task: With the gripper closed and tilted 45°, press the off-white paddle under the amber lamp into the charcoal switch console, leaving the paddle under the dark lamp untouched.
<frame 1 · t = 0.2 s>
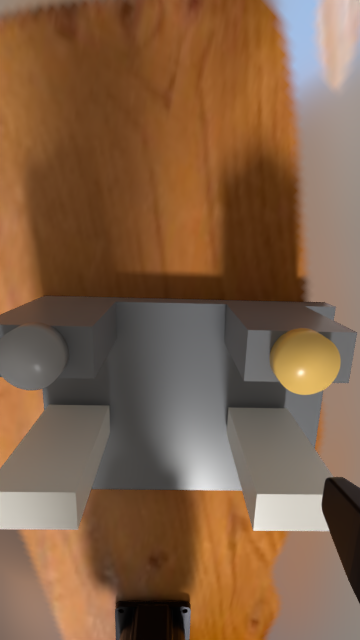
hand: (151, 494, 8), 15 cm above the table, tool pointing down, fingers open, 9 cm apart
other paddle: (60, 455, 18), point 6 cm above the table, slide at 0.0 cm
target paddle: (273, 457, 18), point 6 cm above the table, slide at 0.0 cm
console: (183, 393, 23), on the table
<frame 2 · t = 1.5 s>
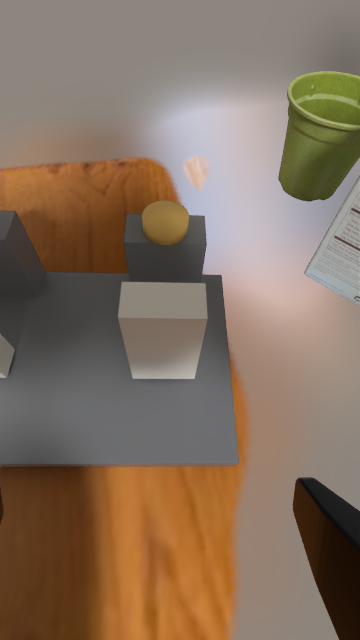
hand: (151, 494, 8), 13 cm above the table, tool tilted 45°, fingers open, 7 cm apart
plant pot: (304, 186, 35), on the table
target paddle: (163, 337, 18), point 6 cm above the table, slide at 0.0 cm
supplement box: (354, 272, 29), on the table
console: (95, 361, 23), on the table
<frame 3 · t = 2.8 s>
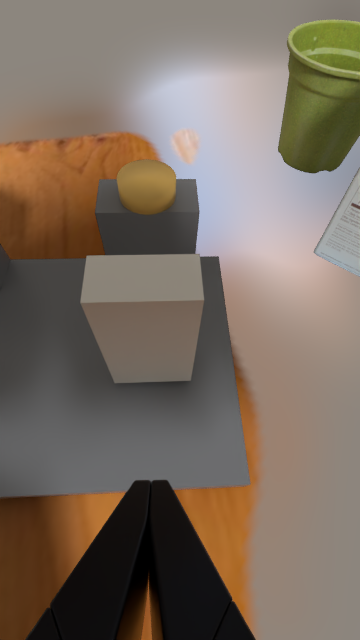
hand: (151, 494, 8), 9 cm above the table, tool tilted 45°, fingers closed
plant pot: (308, 157, 31), on the table
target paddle: (149, 330, 14), point 6 cm above the table, slide at 0.0 cm
console: (71, 363, 19), on the table
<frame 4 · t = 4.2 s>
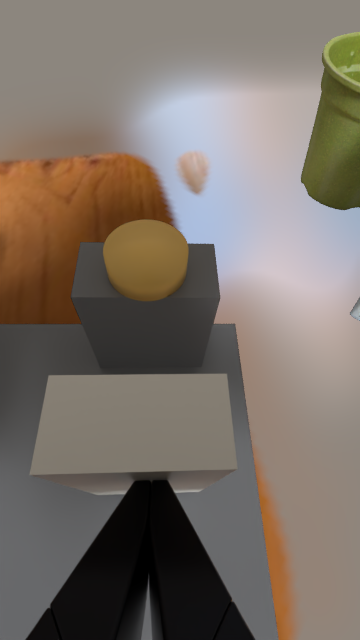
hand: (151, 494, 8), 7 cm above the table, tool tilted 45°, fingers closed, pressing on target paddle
plant pot: (335, 189, 27), on the table
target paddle: (145, 450, 10), point 6 cm above the table, slide at 1.0 cm, touching gripper
console: (40, 473, 15), on the table
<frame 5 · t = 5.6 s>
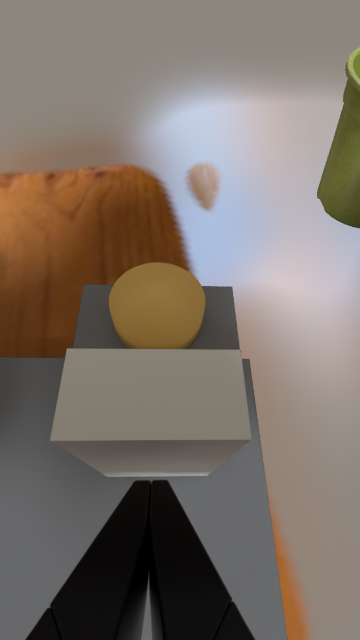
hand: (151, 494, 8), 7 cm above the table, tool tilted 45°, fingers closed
plant pot: (353, 205, 25), on the table
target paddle: (156, 429, 10), point 6 cm above the table, slide at 3.7 cm
console: (37, 525, 13), on the table
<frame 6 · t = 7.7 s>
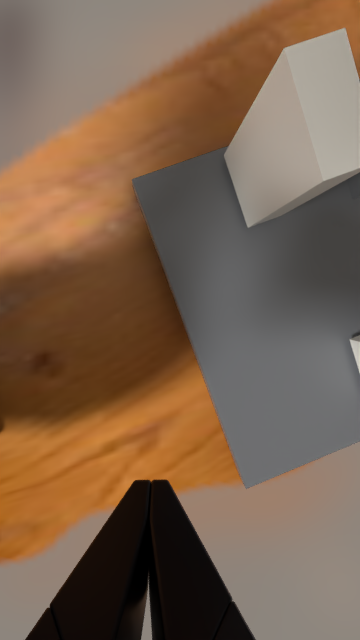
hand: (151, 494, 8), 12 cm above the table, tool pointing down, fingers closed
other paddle: (282, 157, 14), point 6 cm above the table, slide at 0.0 cm
console: (293, 300, 20), on the table
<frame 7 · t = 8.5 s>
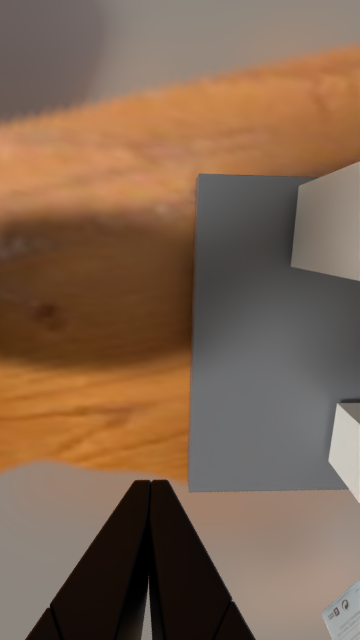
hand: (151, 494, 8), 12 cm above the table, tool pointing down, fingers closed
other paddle: (356, 224, 13), point 6 cm above the table, slide at 0.0 cm
console: (302, 345, 20), on the table
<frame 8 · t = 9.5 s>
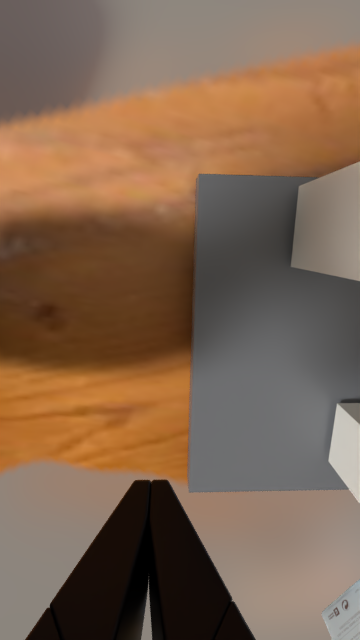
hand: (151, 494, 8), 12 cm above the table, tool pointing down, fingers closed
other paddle: (356, 224, 13), point 6 cm above the table, slide at 0.0 cm
console: (302, 345, 20), on the table
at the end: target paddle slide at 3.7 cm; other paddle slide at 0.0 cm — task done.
